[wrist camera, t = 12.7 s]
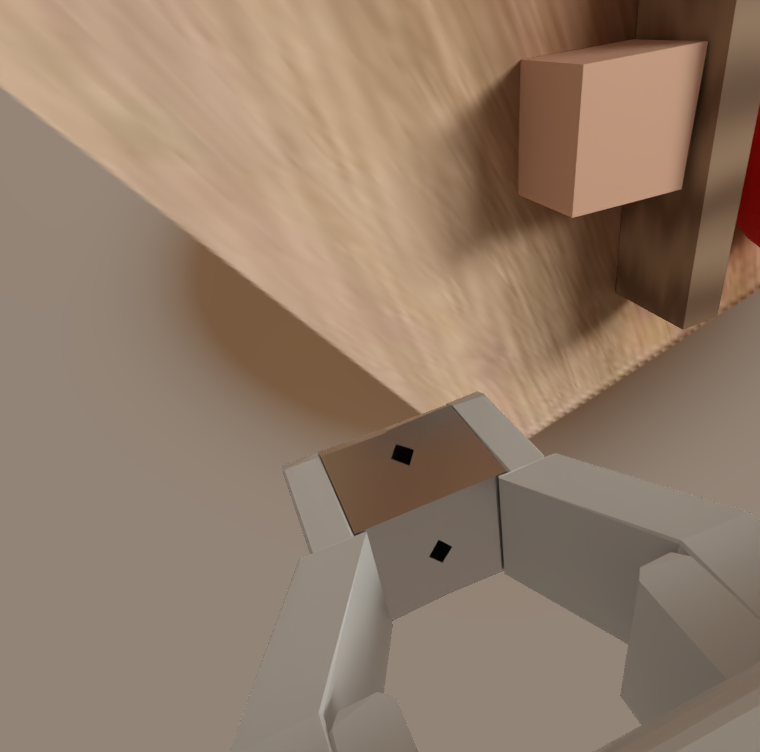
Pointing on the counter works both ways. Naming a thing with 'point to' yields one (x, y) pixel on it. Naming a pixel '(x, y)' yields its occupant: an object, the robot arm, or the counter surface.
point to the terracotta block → (607, 123)
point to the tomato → (751, 191)
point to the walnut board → (696, 166)
